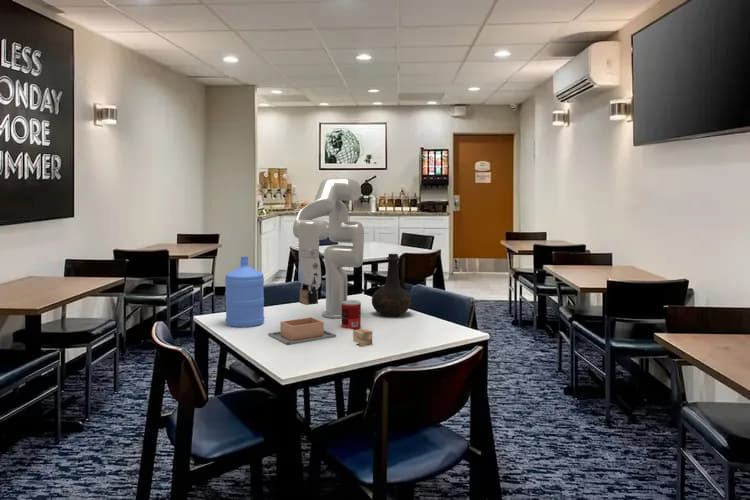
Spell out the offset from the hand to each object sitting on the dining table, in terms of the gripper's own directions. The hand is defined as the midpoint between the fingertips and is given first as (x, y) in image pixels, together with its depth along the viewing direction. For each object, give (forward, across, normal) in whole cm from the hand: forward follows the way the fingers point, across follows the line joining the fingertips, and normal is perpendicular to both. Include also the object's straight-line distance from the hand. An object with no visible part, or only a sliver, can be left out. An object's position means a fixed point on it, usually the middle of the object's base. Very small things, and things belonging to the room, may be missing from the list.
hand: (308, 301), depth 200 cm
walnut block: (+1, 0, 0) cm, 1 cm away
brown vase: (+14, +15, -51) cm, 55 cm away
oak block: (+14, -18, -12) cm, 26 cm away
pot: (+13, 0, +3) cm, 13 cm away
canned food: (+14, +3, -21) cm, 26 cm away
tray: (+14, 0, +3) cm, 14 cm away
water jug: (+14, +35, +11) cm, 39 cm away
